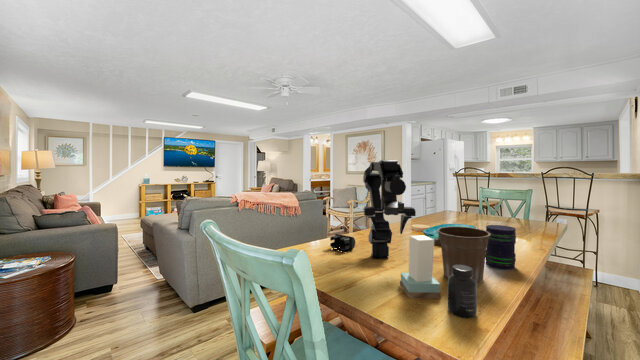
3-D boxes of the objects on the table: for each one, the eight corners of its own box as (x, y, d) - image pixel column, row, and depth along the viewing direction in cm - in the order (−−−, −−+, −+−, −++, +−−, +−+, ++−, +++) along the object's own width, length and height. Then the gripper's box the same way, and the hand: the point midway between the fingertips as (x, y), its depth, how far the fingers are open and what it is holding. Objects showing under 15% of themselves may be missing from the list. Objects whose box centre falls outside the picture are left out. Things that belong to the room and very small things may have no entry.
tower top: (408, 292, 82) (408, 283, 82) (400, 280, 91) (400, 272, 91) (440, 292, 81) (440, 283, 81) (428, 280, 90) (428, 272, 90)
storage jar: (486, 268, 106) (486, 228, 106) (483, 260, 115) (484, 224, 115) (518, 271, 102) (518, 231, 101) (512, 263, 111) (513, 226, 110)
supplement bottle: (442, 306, 77) (442, 263, 76) (466, 305, 77) (466, 262, 77) (456, 320, 70) (457, 272, 69) (482, 318, 70) (483, 271, 70)
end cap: (355, 250, 131) (355, 235, 131) (346, 253, 126) (346, 238, 126) (339, 246, 138) (339, 232, 138) (329, 249, 133) (329, 235, 133)
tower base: (410, 301, 81) (410, 292, 81) (399, 288, 90) (399, 280, 90) (440, 300, 82) (440, 291, 82) (426, 287, 91) (426, 279, 91)
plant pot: (469, 290, 86) (469, 239, 86) (427, 273, 101) (427, 229, 100) (500, 280, 94) (501, 233, 93) (457, 266, 108) (457, 224, 108)
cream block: (417, 282, 83) (418, 240, 82) (408, 275, 88) (409, 235, 87) (432, 280, 84) (433, 239, 83) (422, 274, 89) (424, 235, 88)
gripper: (365, 194, 100) (365, 238, 100) (419, 194, 98) (419, 239, 98) (363, 192, 111) (363, 231, 111) (412, 192, 109) (411, 232, 109)
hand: (388, 233), depth 107 cm, fingers open, 9 cm apart
